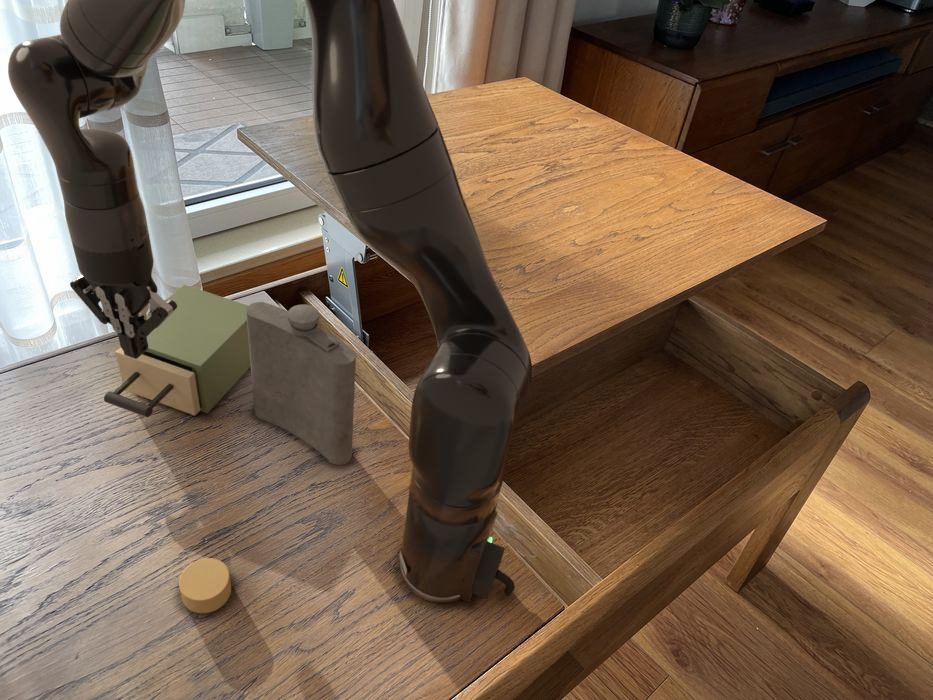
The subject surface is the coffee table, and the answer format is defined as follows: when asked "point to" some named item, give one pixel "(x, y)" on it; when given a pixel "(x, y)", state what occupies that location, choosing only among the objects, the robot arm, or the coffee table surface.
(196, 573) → the tan short cylinder
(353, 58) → the robot arm
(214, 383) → the cabinet
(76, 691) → the coffee table surface
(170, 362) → the drawer
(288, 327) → the hip flask
